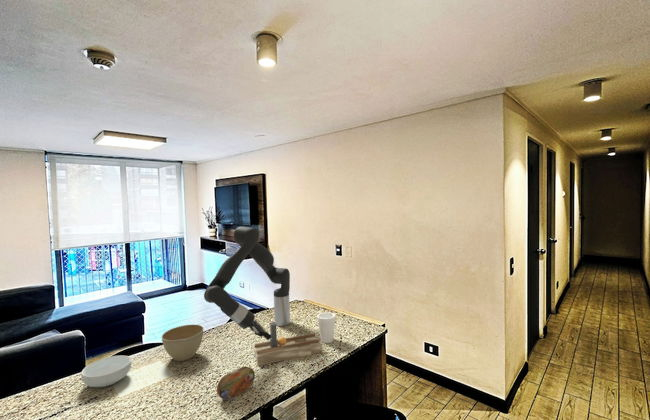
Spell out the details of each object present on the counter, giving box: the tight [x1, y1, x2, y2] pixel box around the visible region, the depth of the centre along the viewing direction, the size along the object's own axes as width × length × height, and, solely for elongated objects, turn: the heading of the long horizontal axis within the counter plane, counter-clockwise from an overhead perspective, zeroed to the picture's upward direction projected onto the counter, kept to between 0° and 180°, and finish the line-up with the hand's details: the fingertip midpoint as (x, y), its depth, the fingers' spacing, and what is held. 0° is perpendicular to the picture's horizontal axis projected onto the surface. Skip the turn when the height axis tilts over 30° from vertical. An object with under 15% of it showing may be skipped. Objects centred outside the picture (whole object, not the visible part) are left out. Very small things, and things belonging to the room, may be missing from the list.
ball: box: [277, 336, 286, 346], centre depth 145 cm, size 4×4×4 cm
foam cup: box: [316, 311, 336, 344], centre depth 158 cm, size 10×9×13 cm
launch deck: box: [253, 332, 322, 366], centre depth 146 cm, size 12×30×6 cm, turn 110°
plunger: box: [269, 321, 278, 347], centre depth 143 cm, size 4×3×11 cm
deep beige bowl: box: [161, 324, 204, 362], centre depth 145 cm, size 18×18×12 cm
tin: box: [216, 366, 256, 401], centre depth 116 cm, size 15×3×8 cm, turn 137°
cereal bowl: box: [80, 354, 132, 388], centre depth 126 cm, size 17×17×7 cm
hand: (269, 337), depth 143 cm, fingers closed
